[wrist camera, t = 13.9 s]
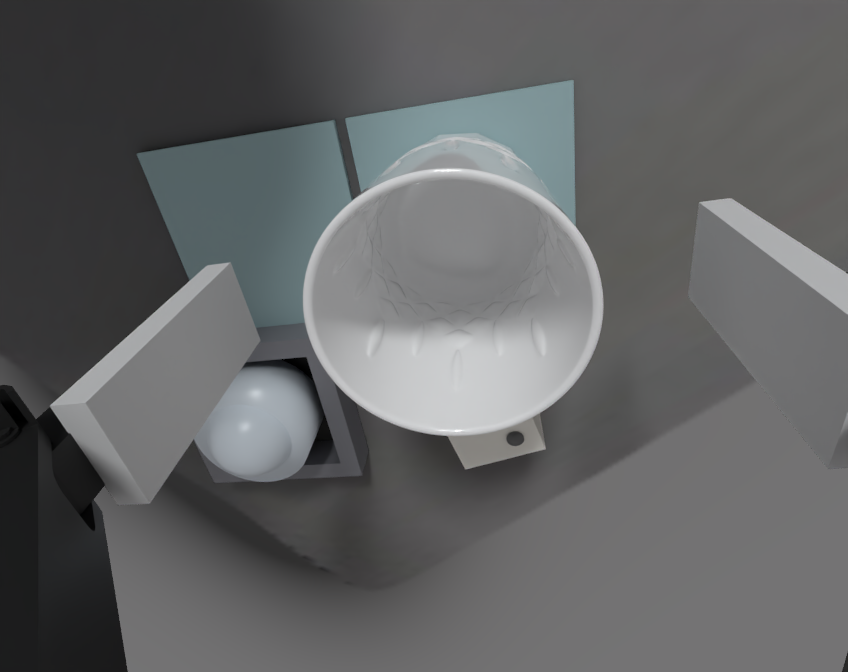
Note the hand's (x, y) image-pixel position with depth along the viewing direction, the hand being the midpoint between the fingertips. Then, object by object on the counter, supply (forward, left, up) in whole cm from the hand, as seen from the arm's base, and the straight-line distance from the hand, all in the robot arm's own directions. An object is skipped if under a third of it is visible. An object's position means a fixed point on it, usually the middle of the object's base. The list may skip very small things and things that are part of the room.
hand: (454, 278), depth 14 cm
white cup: (+1, 0, -9) cm, 9 cm away
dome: (+10, -12, -8) cm, 17 cm away
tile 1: (+1, -9, -9) cm, 13 cm away
